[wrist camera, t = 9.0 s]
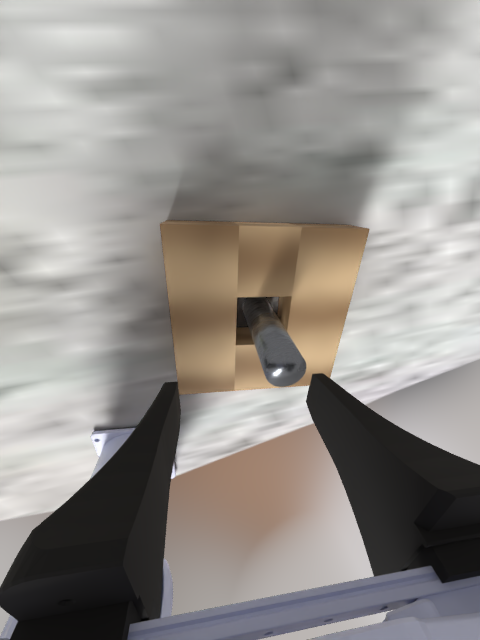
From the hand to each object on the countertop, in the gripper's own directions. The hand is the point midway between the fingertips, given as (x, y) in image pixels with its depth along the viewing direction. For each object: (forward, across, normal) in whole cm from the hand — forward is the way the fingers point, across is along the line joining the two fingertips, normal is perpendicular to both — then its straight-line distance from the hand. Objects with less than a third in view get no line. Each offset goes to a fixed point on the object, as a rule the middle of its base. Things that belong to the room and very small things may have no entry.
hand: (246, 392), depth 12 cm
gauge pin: (+10, -2, -1) cm, 10 cm away
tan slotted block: (+10, -2, -1) cm, 10 cm away
